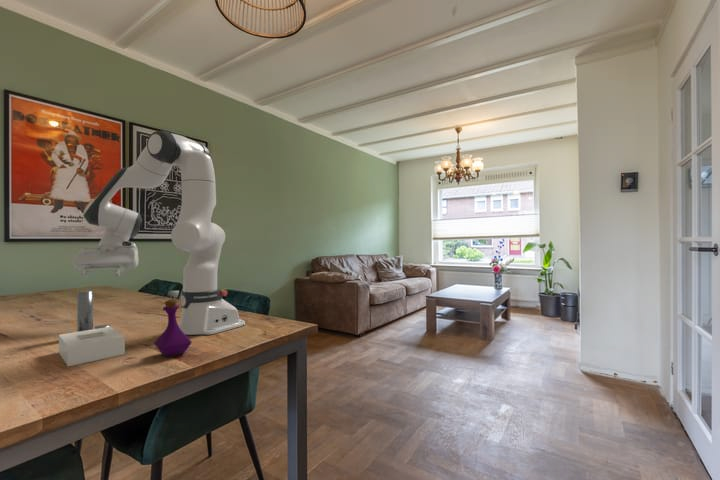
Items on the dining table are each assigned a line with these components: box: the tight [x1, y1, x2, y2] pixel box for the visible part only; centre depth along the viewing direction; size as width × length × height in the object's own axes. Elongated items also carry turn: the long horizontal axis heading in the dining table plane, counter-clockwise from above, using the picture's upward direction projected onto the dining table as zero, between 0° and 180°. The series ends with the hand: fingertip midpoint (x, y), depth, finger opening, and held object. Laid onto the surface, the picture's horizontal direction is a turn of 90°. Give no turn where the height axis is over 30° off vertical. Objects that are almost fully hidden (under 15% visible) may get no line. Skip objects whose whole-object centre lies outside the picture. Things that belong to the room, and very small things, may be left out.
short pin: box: [94, 324, 112, 329], centre depth 105 cm, size 4×4×4 cm
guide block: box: [58, 326, 126, 367], centre depth 93 cm, size 12×16×5 cm
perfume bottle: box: [153, 290, 192, 358], centre depth 92 cm, size 8×8×18 cm
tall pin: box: [76, 290, 94, 332], centre depth 109 cm, size 4×4×15 cm
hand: (101, 275), depth 120 cm, fingers open, 8 cm apart
